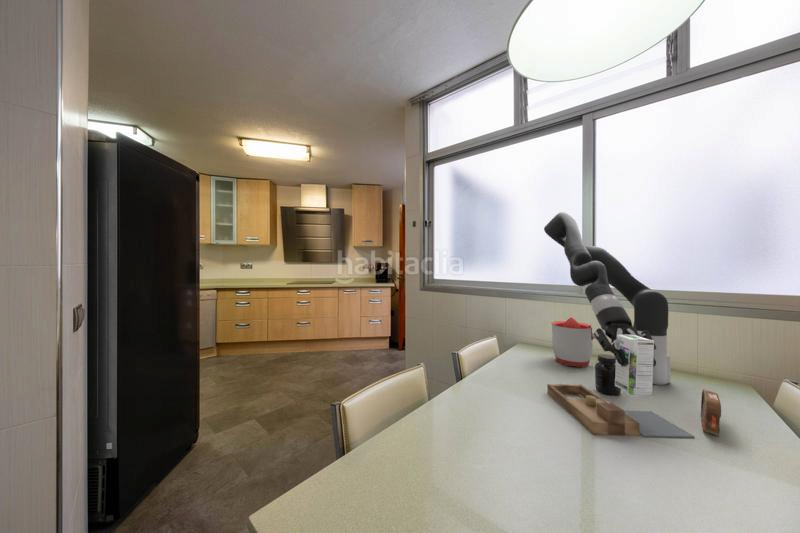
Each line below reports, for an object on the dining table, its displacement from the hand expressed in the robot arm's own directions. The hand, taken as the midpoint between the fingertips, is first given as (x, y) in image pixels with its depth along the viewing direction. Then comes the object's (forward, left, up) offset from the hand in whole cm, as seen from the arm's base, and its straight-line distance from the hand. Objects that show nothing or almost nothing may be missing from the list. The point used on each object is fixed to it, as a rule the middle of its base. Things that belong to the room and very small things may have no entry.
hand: (638, 365), depth 72 cm
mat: (-3, -1, -16) cm, 16 cm away
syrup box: (0, -2, -8) cm, 8 cm away
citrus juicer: (-12, -49, -16) cm, 53 cm away
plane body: (+9, -7, -16) cm, 19 cm away
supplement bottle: (-6, -20, -16) cm, 26 cm away
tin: (-18, 0, -16) cm, 24 cm away
